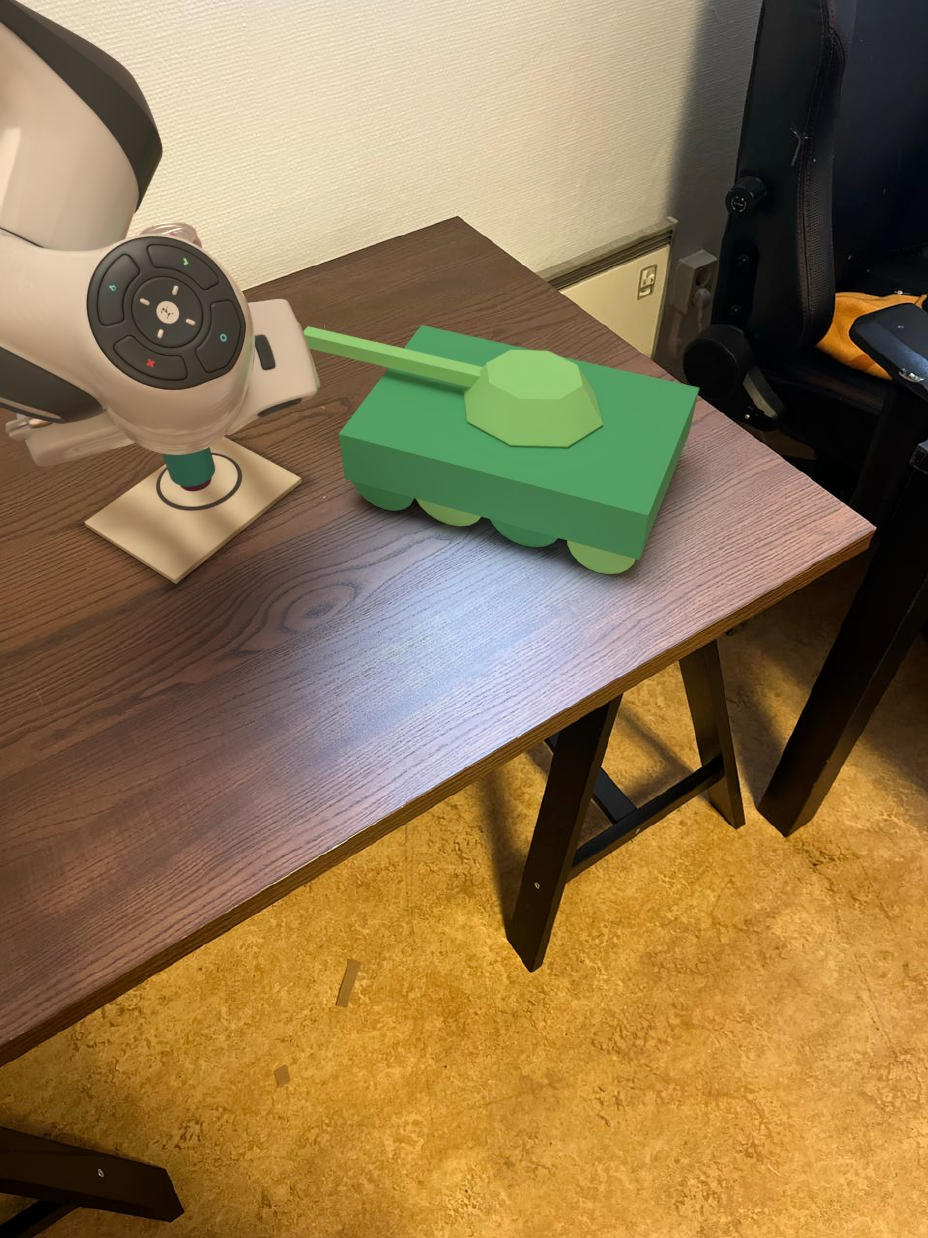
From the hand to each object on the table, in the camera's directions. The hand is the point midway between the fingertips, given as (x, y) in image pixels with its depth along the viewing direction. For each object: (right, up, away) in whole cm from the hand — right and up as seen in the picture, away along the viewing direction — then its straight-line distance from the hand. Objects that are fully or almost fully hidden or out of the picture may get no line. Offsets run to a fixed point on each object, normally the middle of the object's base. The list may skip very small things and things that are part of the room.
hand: (175, 416), depth 72 cm
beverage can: (-6, +11, +29) cm, 32 cm away
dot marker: (0, -4, +4) cm, 6 cm away
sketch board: (-3, -5, +16) cm, 17 cm away
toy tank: (+24, -2, +18) cm, 30 cm away
